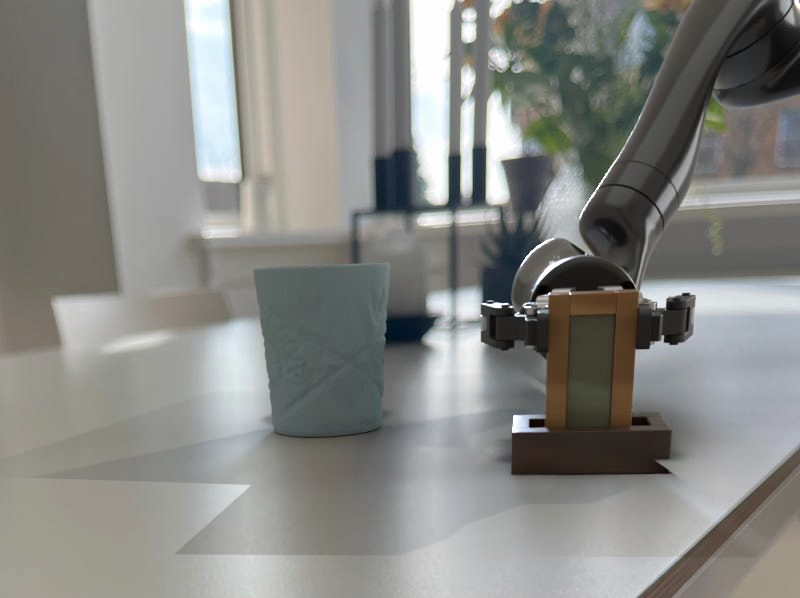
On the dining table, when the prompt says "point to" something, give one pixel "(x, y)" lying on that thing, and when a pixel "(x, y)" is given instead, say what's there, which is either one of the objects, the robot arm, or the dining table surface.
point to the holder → (590, 446)
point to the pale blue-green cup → (324, 346)
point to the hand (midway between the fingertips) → (592, 331)
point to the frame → (591, 358)
